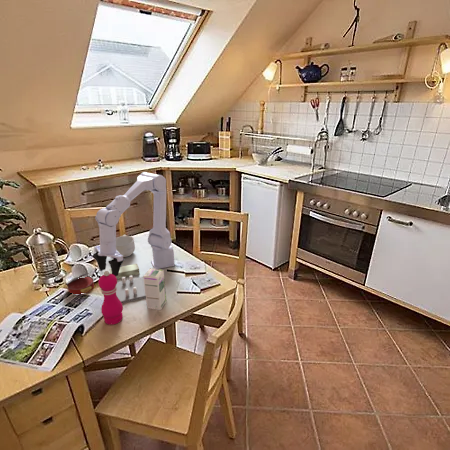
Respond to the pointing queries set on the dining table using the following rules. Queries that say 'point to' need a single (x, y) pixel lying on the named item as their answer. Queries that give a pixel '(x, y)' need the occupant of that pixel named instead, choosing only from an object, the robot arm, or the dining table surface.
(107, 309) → the pepper mill
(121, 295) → the peg stand
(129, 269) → the pale green block
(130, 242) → the teacup
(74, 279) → the canned food
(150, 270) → the syrup box
